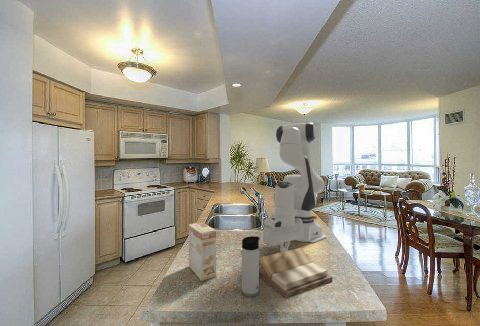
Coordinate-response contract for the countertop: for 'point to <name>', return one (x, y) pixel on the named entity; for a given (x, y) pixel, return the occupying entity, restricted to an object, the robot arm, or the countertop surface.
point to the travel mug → (250, 266)
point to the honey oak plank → (284, 261)
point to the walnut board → (295, 289)
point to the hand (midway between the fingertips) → (284, 251)
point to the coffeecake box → (202, 250)
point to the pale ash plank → (298, 275)
